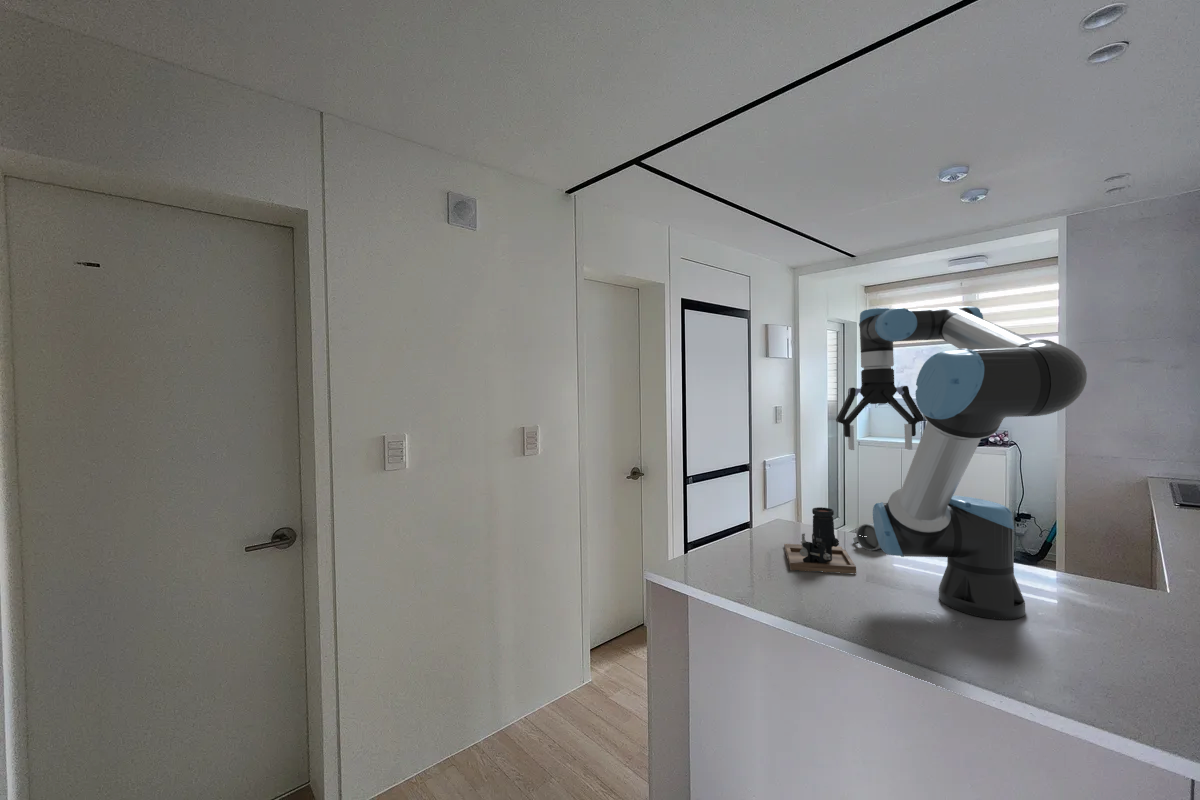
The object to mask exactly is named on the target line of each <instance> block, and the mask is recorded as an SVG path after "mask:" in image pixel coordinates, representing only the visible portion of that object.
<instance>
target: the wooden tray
mask: <svg viewBox="0 0 1200 800" xmlns="http://www.w3.org/2000/svg"><path fill="white" fill-rule="evenodd" d="M801 549H802V544H800V543H799V544H795V543H784V550H785V555H786V554H787V555H786V558H787V561H788V565H789V569H791V570H790V571H795V570H799V571H798V572H811V571H823V572H822V573H827V572H840V573H839V574H843V573H856V574H857V566H856V564H855V563H854V561H853V559H852V557H851V556H850V554H849V553H848V552H847V550H846V549H844V548H843V547H842V546H839V545H838V546H837V547H834V546H833V547H832V561H828V562H826V564H823V563H818V562H816V563H811V562H810V563H806V562H803V558H805V556H802V555H801V554H800V550H801ZM806 557H807V556H806Z"/></svg>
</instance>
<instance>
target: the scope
mask: <svg viewBox="0 0 1200 800" xmlns="http://www.w3.org/2000/svg"><path fill="white" fill-rule="evenodd" d="M811 512H812V514H813V515H812V533H811V541H806V538H805V536H806V533H805V532H803V533H801V541H800V543H801V545H802V549H801V550H800V554H801V555H802V556H805V558H803V562H806V563H810V562H811V563H816V562H818V563H823V564H826V562H828V561H832V547H833V546H834V547H837V546H839V545H840V541H839V539H838V538H836V535H835V525H834V524H835V523H834V522H835V521H834V515H835V513H834V512H835V511H834V509H832V508H829V507H820V506H819V507H813V508H812V510H811ZM806 556H807V557H806Z"/></svg>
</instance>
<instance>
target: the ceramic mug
mask: <svg viewBox="0 0 1200 800" xmlns="http://www.w3.org/2000/svg"><path fill="white" fill-rule="evenodd" d="M859 535H861V536H859ZM862 536H863V537H862ZM864 536H867V537H864ZM853 542H854V543H855V544H859V545H860V546H861V547H862V548H863V549H864V550H867V549H868V550H867V551H872V552H873V551H877V550H880V549H881V547H880V545H879V543H878V540H877V537H876V533H875V529H874V523H863V524H861V525H860V526H858V528H857V531H856V536H855V537H853ZM857 542H858V543H857ZM881 550H882V549H881Z"/></svg>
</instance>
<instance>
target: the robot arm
mask: <svg viewBox="0 0 1200 800" xmlns="http://www.w3.org/2000/svg"><path fill="white" fill-rule="evenodd" d="M858 326H859V327H858V328H859V342H860V343H859V344H860V345H859V347H860V367H861V368H862V370H861V371H860V377H861V378H860V379H861V387H860V388H856V387H849V388H848V391H847V397H846V398H845V401H844V403H843V404H842V406H841V409H840V410H839V413H838V414H837V416H836V418H835V421H836V422H837V423H839V424H842V425H843V436H844V438H847V439H848V440H847V442H848V443H847V446H848V450H851V451H854V450H855V430H854V428H855V427H854V424H851V423H852V422H853V421H854V420H855V419H856V417H858V416H859V414H860V413H861V412H862V411H863V410H864V408H866V406H868V405H869V404H870V405H876V404H881V405H885V404H889V405H890V406H891V408H893V409H894V411H896V412H897V413H898V414H899V415H900V416H901V417H902V418H903V419H904V420H905V422H907V423H904V448H905V449H906V450H909V451H910V450H913V437H916V435H917V432H916V431H917V430H916V427H917V424H918V423H920V422H923V421H924V420H925V421H926V424H925V426H924V429H923V432H922V434H921V437H920V440H919V442H918V446H917V448H916V450H915V452H914V453H915V454H914V456H913V458H912V460H911V463H910V465H909V468H908V471H907V474H906V477H905V479H904V481H903V484H902V486H901V488H899V489H896V490H895V491H894V492H892V493H891V494H890V496H889V499H888V501H887V502H882V501H881V502H877V503H875V504H874V505H873V506H872V507H873V508H872V521H873V523H874V529H875V533H876V537H877V540H878V543H879V545H880V547H881V550H882V551H883V552H884V553H885V554H886V555H888V556H896V557H901V558H904V557H912V558H913V557H914V558H915V557H916V558H917V557H918V558H924V557H925V558H947V563H946V564H947V565H946V568H945V570H944V573H943V575H942V578H941V580H940V583H939V585H938V598H939V600H940V602H942V603H943V604H944V605H946V606H948V607H950V608H952V609H954V610H955V611H957V612H958V611H959V612H962V613H965V614H968V615H972V616H974V617H975V616H976V617H980V618H983V619H984V618H985V619H991V620H992V619H994V620H1016V619H1020V618H1023V617H1024V616H1025V615H1026V602H1025V598H1024V596H1023V594H1022V592H1021V589H1020V587H1019V583H1018V582H1017V579H1016V577H1015V570H1014V566H1015V565H1014V563H1015V562H1014V561H1015V560H1014V557H1015V556H1014V555H1015V554H1014V530H1015V525H1014V521H1013V520H1014V517H1013V512H1012V511H1011V509H1009V508H1008V507H1007V506H1005V505H1003V504H1001V503H998V502H994V501H991V500H986V499H983V498H982V499H981V498H977V497H970V496H963V495H954V494H955V492H956V491H957V488H958V487H959V484H960V482H961V480H962V478H963V476H964V474H965V472H966V470H967V468H968V466H969V464H970V462H971V460H972V458H973V456H974V455H975V454H974V453H975V452H976V451H977V448H978V446H979V444H980V442H981V440H983V439H985V438H989V437H991V436H992V435H993V436H994V434H996V432H997V431H998V429H999V428H1000V426H1001V425H1002V423H1003V420H1004V419H1006V418H1013V417H1014V418H1017V417H1019V418H1020V417H1041V416H1047V415H1051V414H1054V413H1056V412H1059V411H1061V410H1063V409H1066V408H1067V407H1068V406H1071V404H1073V403H1074V402H1075V401H1076V400H1077V399H1078V398H1080V396H1081V394H1082V393H1083V392H1084V389H1085V387H1086V384H1087V377H1088V373H1087V367H1086V365H1085V364H1084V361H1083V360H1082V359H1081V357H1080V356H1079V355H1078V354H1077V353H1076V352H1075V351H1073V350H1071V349H1070V348H1068V347H1066V346H1064V345H1062V344H1060V343H1057V342H1054V341H1052V340H1049V339H1045V338H1044V339H1043V338H1042V339H1041V338H1040V339H1031V338H1028V337H1026V336H1024V335H1022V334H1019V333H1016V332H1015V331H1012V330H1010V329H1007V328H1005V327H1003V326H1001V325H998V324H996V323H994V322H991V321H989V320H987V319H984V315H983V313H982V312H981V309H980V308H979V307H977V306H974V305H973V306H971V305H970V306H969V305H968V306H967V305H966V306H965V305H957V306H949V307H931V308H914V309H908V308H904V307H896V308H889V307H876V308H874V307H873V308H868V309H865V310H862V311H861V312H860V314H859V323H858ZM936 340H944V342H946V343H949V344H950V345H952V346H954V347H955V348H957V349H955V350H947V351H946V350H945V351H940V352H936V353H935V354H933V355H931V356H930V357H928V359H926V361H925V362H924V363H923V365H922V366H921V368H920V370H919V372H918V374H917V379H916V384H915V385H916V390H915V400H914V399H913V397H912V395H911V394H910V389H909V385H901V386H897V387H896V385H895V369H894V368H892V367H894V365H895V363H894V362H895V361H894V360H895V359H894V343H895V342H914V341H936ZM859 393H860V395H861V396H862V397H863V398H862V399H860V401H859V403H858V404H857V405H856V406H855V407H854V409H852V411H851V412H850V413H849V414H848V411H849V409H850V408H851V406H852V404H853V403H854V400H855V397H857V396H858V395H859ZM896 393H898V395H900V396H901V397H902V399H903V401H904V403H905V405H906V406H907V407H908V409H909V411H910V413H911V414H912V415H911V414H910V413H909V412H908V411H907V410H906V409H905V407H903V406H902V405H901V404H900V402H898V400H897V399H896V398H895V397H894V396H895V394H896ZM915 401H916V402H915ZM847 414H848V415H847ZM846 415H847V416H846Z"/></svg>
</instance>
